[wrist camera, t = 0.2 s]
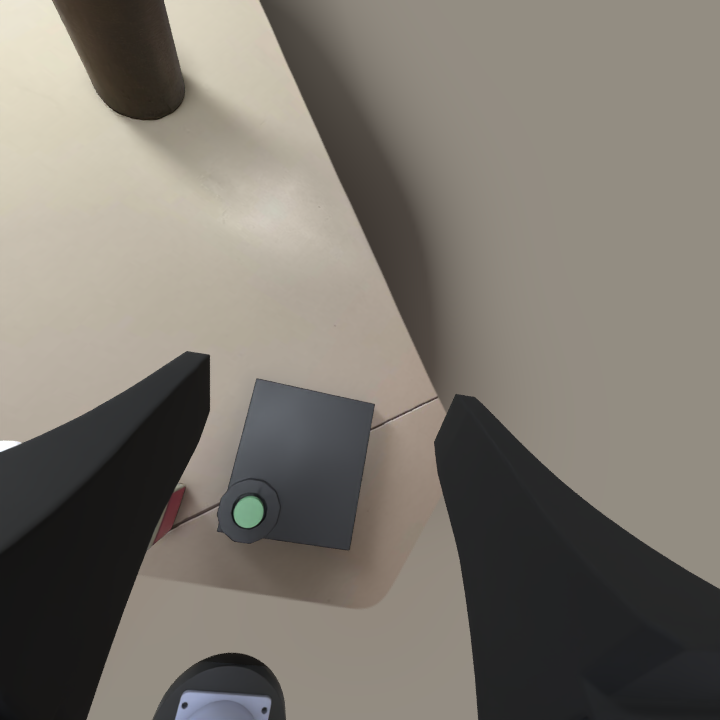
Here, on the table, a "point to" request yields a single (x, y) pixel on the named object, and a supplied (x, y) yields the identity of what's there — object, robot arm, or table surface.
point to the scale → (299, 466)
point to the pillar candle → (127, 53)
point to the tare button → (248, 511)
